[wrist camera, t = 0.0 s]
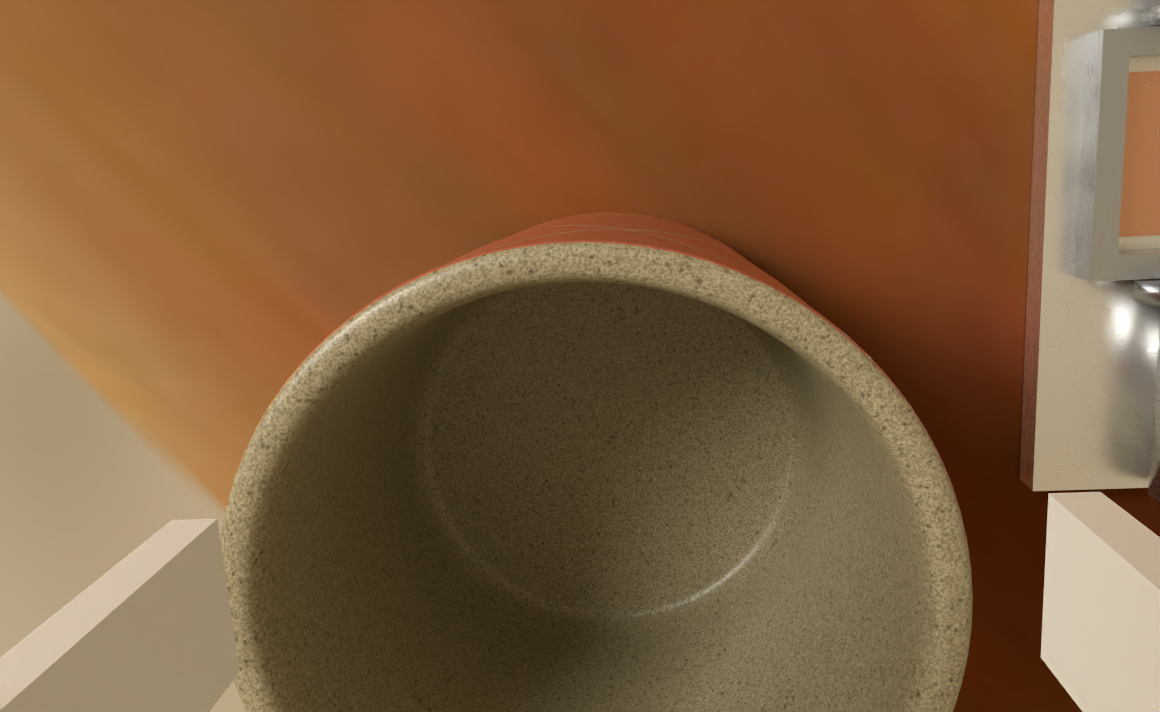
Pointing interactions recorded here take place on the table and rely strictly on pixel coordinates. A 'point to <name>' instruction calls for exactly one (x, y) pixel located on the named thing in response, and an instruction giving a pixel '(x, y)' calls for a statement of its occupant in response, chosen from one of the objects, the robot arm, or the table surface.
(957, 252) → the table surface
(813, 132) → the table surface
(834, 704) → the planter
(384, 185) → the table surface
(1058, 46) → the pipeline
